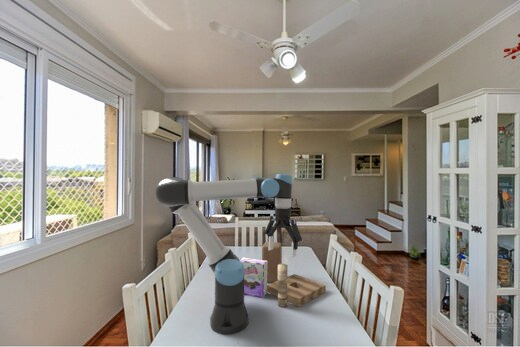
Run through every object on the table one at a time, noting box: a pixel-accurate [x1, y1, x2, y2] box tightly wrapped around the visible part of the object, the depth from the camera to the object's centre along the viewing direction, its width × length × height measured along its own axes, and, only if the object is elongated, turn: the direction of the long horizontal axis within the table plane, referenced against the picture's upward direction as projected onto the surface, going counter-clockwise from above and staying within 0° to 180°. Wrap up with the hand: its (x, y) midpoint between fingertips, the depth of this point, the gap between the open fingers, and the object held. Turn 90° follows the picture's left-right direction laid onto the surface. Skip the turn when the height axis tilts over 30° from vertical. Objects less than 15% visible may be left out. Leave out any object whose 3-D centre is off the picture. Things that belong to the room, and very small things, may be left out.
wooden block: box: [261, 241, 283, 284], centre depth 146 cm, size 10×10×20 cm
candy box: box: [239, 256, 268, 299], centre depth 130 cm, size 14×6×16 cm, turn 68°
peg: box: [276, 263, 289, 308], centre depth 118 cm, size 5×5×18 cm
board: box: [267, 273, 326, 308], centre depth 131 cm, size 22×20×4 cm
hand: (281, 253), depth 121 cm, fingers open, 13 cm apart
